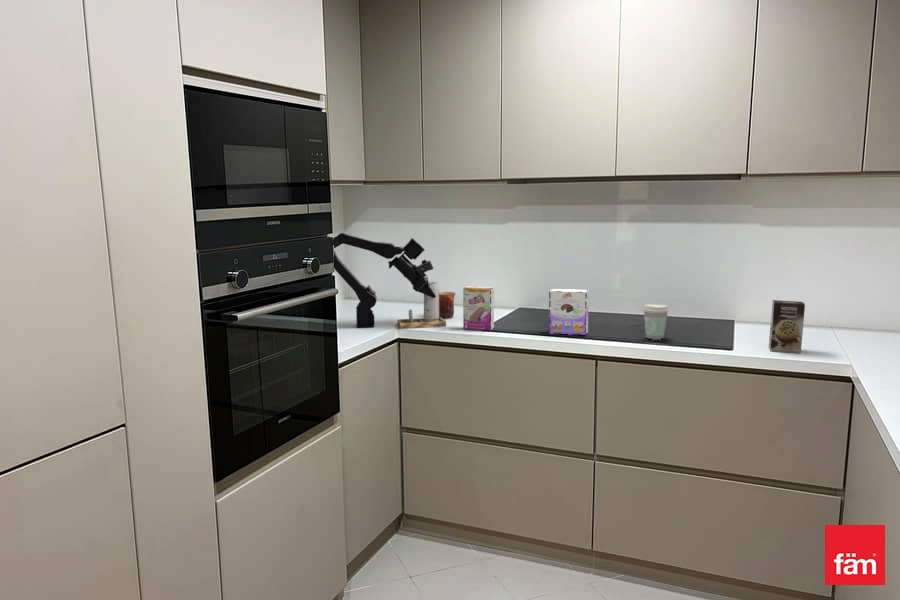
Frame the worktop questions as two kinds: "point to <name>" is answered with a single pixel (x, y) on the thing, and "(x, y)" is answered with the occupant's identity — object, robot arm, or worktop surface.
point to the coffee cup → (655, 320)
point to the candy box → (568, 311)
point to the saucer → (410, 316)
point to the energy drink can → (432, 303)
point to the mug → (446, 304)
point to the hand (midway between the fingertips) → (434, 296)
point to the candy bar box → (478, 308)
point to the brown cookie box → (786, 326)
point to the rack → (420, 323)
